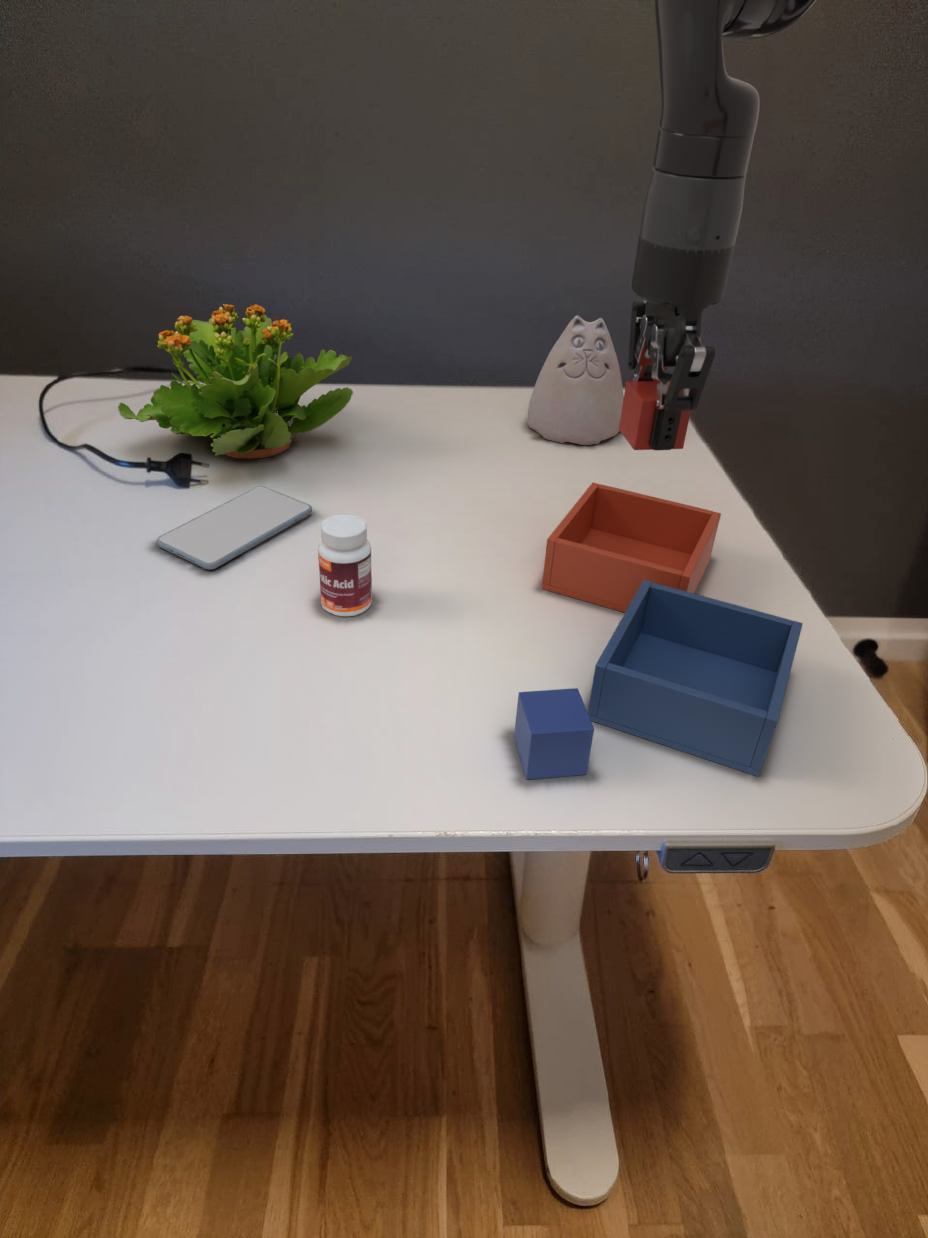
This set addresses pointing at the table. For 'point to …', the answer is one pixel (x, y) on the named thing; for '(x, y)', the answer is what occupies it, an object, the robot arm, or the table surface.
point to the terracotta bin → (627, 546)
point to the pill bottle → (345, 565)
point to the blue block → (553, 733)
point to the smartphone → (234, 527)
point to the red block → (644, 415)
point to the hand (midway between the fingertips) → (651, 435)
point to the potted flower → (241, 385)
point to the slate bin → (696, 675)
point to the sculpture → (578, 387)
